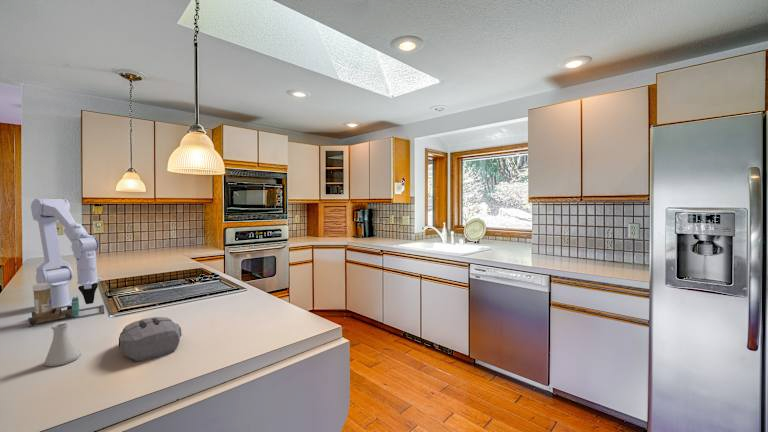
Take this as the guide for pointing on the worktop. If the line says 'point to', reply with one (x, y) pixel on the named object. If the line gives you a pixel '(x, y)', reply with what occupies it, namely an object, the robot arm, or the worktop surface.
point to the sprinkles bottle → (42, 299)
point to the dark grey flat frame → (73, 317)
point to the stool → (57, 313)
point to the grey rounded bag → (149, 338)
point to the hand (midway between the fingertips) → (89, 303)
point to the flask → (61, 347)
